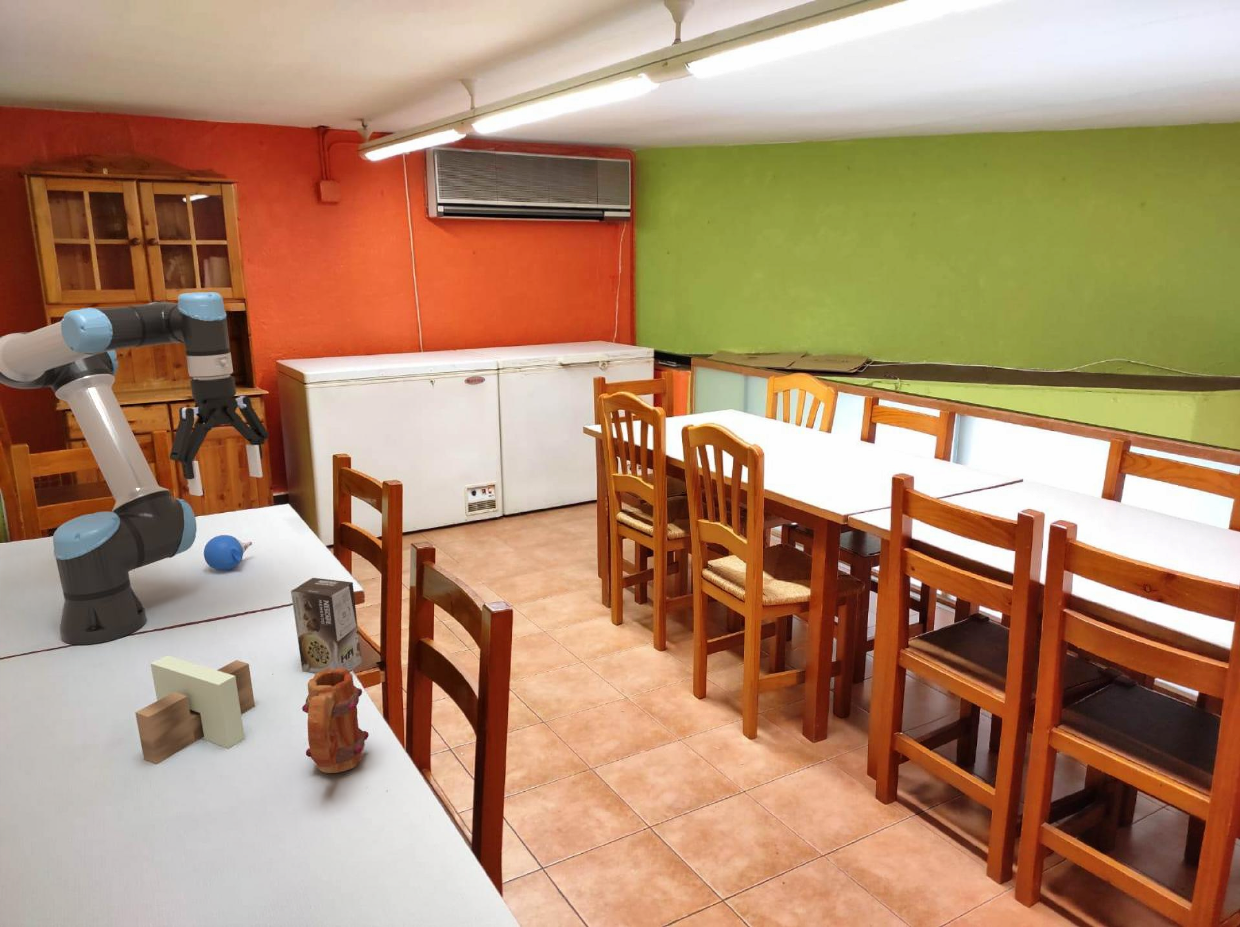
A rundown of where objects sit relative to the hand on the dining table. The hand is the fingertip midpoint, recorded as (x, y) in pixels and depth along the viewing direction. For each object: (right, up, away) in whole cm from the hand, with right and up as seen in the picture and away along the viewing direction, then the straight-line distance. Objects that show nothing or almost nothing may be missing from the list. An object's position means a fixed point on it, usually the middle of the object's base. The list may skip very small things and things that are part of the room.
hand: (227, 485), depth 163 cm
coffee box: (+23, -34, -7) cm, 41 cm away
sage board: (+9, -39, -28) cm, 49 cm away
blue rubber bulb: (-18, -21, +42) cm, 51 cm away
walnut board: (+9, -39, -28) cm, 49 cm away
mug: (+34, -42, -39) cm, 67 cm away
